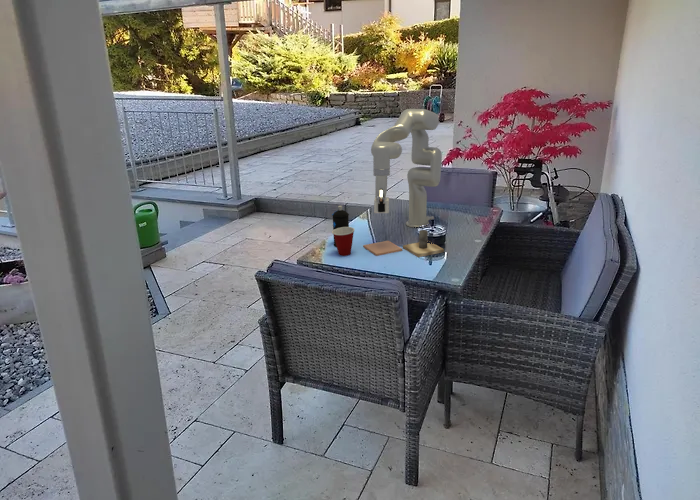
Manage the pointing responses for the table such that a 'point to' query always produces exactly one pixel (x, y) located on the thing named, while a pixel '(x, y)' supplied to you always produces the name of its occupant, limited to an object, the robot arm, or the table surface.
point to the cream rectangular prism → (386, 201)
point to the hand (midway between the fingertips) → (381, 209)
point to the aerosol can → (340, 219)
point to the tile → (382, 248)
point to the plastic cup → (343, 240)
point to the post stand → (423, 246)
